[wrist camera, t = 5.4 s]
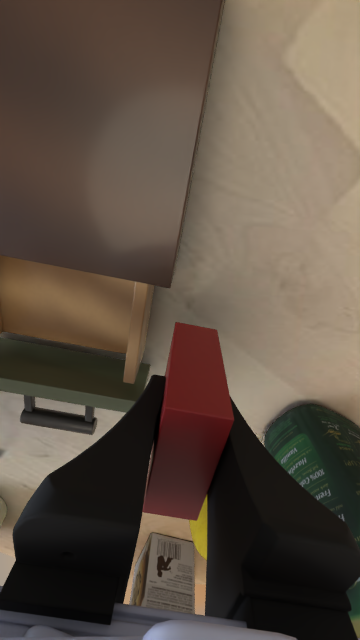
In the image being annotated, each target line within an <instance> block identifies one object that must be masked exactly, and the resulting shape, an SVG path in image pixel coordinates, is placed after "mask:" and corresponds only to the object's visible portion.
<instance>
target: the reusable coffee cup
mask: <svg viewBox="0 0 360 640" xmlns="http://www.w3.org/2000/svg"><path fill="white" fill-rule="evenodd" d="M6 513H7V507H6V504H5V502H4V501H3V499H2V498H1V497H0V527H1V525H2V523H3V520H4V518H5V516H6Z"/></svg>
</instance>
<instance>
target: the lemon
mask: <svg viewBox="0 0 360 640" xmlns="http://www.w3.org/2000/svg"><path fill="white" fill-rule="evenodd" d="M189 523H190V530H191V534H192V539H193V542H194V545H195V547H196V549H197V551H198V552H199V553H200V555H201V556H202V557H203V558H204V559H205V560H207V495H206V498H205V500H204V503H203V506H202V509H201V511H200V514H199V517H198V519H197V521H194V520H189Z"/></svg>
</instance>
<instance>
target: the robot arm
mask: <svg viewBox="0 0 360 640" xmlns="http://www.w3.org/2000/svg"><path fill="white" fill-rule="evenodd" d="M165 382H166V377H165V376H160V375H153V376H151V379H150V381H149V383H148V385H147V387H146V388H145V390H144V391H143V393H142V394H141V395H140V397H139V398H138V400H137V401H136V402H135V404H134V405H133V406H132V407H131V408H130V410H129V411H128V412H127V413H126V414H125V415H124V416H123V417H122V419H121V420H120V421H119V422H118V423H117V424H116V425H115V426H114V427H113V428H112V429H110V430H109V431H108V432H107V433H106V434H105V435H104V436H103V437H102V438H100V439H99V440H98V441H97V442H96V443H94V444H93V445H92V446H90V447H89V448H88V449H86V450H85V451H84V452H82V453H81V454H80V455H78V456H77V457H76V458H74V459H73V460H71V461H70V462H68V463H66V464H65V465H63V466H62V467H60V468H58V469H57V470H55V471H54V472H52V473H50V474H49V475H48V476H47V477H46V478H45V479H44V480H43V482H42V483H41V484H40V486H39V487H38V488H37V490H36V491H35V492H34V494H33V495H32V497H31V498H30V500H29V501H28V503H27V504H26V506H25V508H24V510H23V512H22V514H21V515H20V517H19V519H18V521H17V523H16V525H15V527H14V528H13V543H14V550H15V557H16V561H15V564H14V565H13V567H12V569H11V571H10V573H9V576H8V578H7V580H6V582H5V584H4V586H0V640H360V638H357V635H356V632H355V630H354V627H353V624H352V622H351V619H350V616H349V614H348V612H350V611H351V610H352V608H351V603H350V601H349V598H348V596H347V593H346V591H347V590H348V589H349V588H350V587H351V586H352V585H353V584H354V583H355V582H356V581H357V580H358V578H359V577H360V549H359V547H358V545H357V542H356V540H355V538H354V536H353V534H352V532H351V530H350V529H349V527H348V525H347V523H346V522H345V521H343V520H342V519H341V518H340V517H338V516H337V515H336V514H334V513H333V512H332V511H331V510H329V509H328V508H327V507H326V506H324V505H323V504H322V503H321V502H319V501H318V500H317V499H316V498H315V497H314V496H313V495H311V494H310V493H309V492H308V491H307V490H306V489H305V488H303V487H302V486H301V485H300V484H299V483H298V482H297V481H296V480H295V479H294V478H293V477H292V476H291V475H290V474H289V473H288V472H287V471H286V470H285V469H284V468H283V467H282V466H281V465H280V464H279V463H278V462H277V461H276V460H275V458H274V457H273V456H272V455H271V454H270V453H269V452H268V450H267V449H266V448H265V447H264V446H263V444H262V443H261V442H260V441H259V439H258V438H257V437H256V435H255V434H254V433H253V431H252V430H251V428H250V427H249V426H248V424H247V423H246V421H245V420H244V418H243V416H242V415H241V413H240V412H239V410H238V409H237V407H236V405H235V404H234V402H233V400H232V399H231V397H230V400H231V405H232V411H233V416H234V422H233V424H232V427H231V430H230V433H229V435H228V438H227V441H226V443H225V446H224V449H223V452H222V454H221V457H220V460H219V462H218V465H217V468H216V471H215V473H214V476H213V479H212V481H211V484H210V487H209V490H208V492H207V571H206V601H205V616H203V615H196V614H190V613H183V612H176V611H169V610H162V609H156V608H149V607H142V606H135V605H128V604H123V602H124V597H125V592H126V588H127V583H128V579H129V575H130V571H131V566H132V562H133V557H134V552H135V548H136V543H137V539H138V534H139V529H140V523H141V517H142V511H143V504H144V496H145V489H146V482H147V475H148V468H149V461H150V455H151V451H152V447H153V443H154V439H155V434H156V429H157V424H158V420H159V415H160V410H161V405H162V400H163V395H164V390H165Z"/></svg>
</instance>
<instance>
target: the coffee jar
mask: <svg viewBox="0 0 360 640" xmlns="http://www.w3.org/2000/svg"><path fill="white" fill-rule="evenodd" d="M264 444H265V448H266V449H267V450H268V452H269V453H270V454H271V455H272V456H273V457H274V458H275V460H276V461H277V462H278V463H279V464H280V465H281V466H282V467H283V468H284V469H285V470H286V471H287V472H288V473H289V474H290V475H291V476H292V477H293V478H294V479H295V480H296V481H297V482H298V483H299V484H300V485H301V486H302V487H303V488H305V489H306V490H307V491H308V492H309V493H310V494H311V495H313V496H314V497H315V498H316V499H317V500H318V501H319V502H321V503H322V504H323V505H324V506H326V507H327V508H328V509H329V510H331V511H332V512H333V513H334V514H336V515H337V516H338V517H340V518H341V519H342V520H343V521H345V522H346V523H347V525H348V527H349V529H350V530H351V532H352V534H353V536H354V538H355V540H356V542H357V545H358V547H359V549H360V428H359V427H358V426H357V425H355V424H354V423H353V422H351V421H350V420H348V419H346V418H344V417H343V416H341V415H339V414H337V413H335V412H333V411H331V410H329V409H327V408H324V407H321V406H319V405H314V404H306V405H302V406H299V407H296V408H293V409H292V410H290V411H288V412H286V413H285V414H283V415H282V416H281V417H280V418H278V419H277V420H276V421H275V422H274V423H273V425H272V426H271V427H270V429H269V430H268V432H267V433H266V436H265V441H264ZM346 593H347V596H348V598H349V601H350V603H351V608H352V610H351V611H350V612H348V614H349V616H350V619H351V622H352V624H353V627H354V630H355V632H356V635H357V638H360V577H359V578H358V580H357V581H356V582H355V583H354V584H353V585H352V586H351V587H350V588H349V589H348V590H347V591H346Z"/></svg>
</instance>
